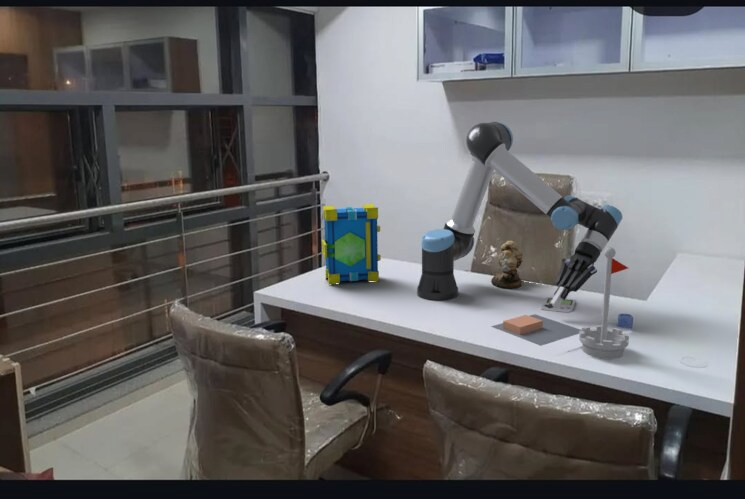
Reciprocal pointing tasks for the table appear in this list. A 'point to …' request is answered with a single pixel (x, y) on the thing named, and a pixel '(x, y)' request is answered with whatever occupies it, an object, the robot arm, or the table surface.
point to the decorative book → (351, 243)
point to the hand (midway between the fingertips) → (553, 305)
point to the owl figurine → (508, 266)
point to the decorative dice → (625, 321)
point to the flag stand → (605, 321)
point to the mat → (545, 331)
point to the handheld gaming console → (564, 307)
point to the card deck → (522, 324)
